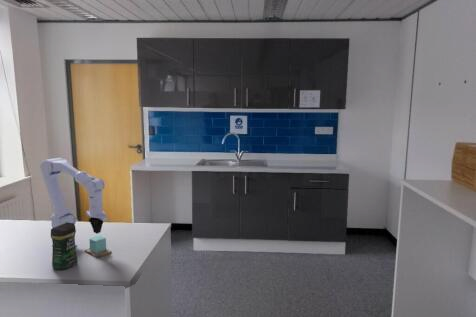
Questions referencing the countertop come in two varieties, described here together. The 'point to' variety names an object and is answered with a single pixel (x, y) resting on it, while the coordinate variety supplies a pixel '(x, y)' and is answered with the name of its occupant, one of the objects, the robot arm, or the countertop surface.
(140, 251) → the countertop surface
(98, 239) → the teal matte cube
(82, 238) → the countertop surface
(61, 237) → the coffee jar
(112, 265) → the countertop surface
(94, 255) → the brown rectangular board
